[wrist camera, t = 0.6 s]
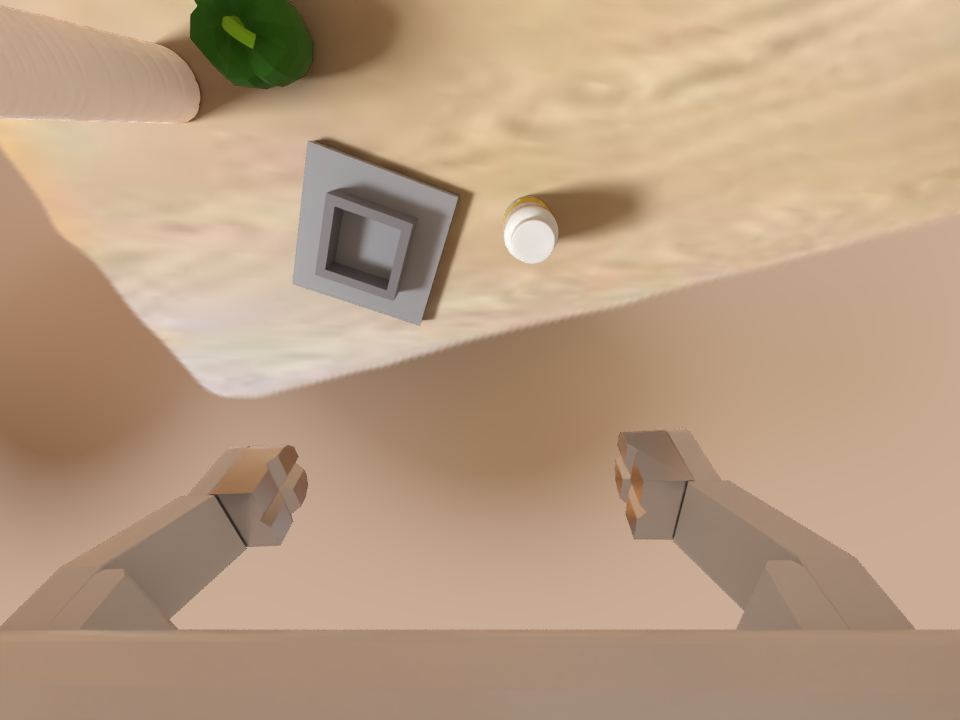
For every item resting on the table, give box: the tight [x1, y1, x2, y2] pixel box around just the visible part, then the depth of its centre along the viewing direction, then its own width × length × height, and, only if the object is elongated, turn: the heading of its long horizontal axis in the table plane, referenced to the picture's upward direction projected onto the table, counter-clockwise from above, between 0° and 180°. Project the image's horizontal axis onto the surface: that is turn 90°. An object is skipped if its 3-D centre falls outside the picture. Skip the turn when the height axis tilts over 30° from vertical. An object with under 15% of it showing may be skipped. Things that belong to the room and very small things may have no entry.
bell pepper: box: [190, 0, 313, 89], centre depth 33 cm, size 8×8×10 cm
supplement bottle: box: [503, 196, 558, 264], centre depth 40 cm, size 5×5×10 cm
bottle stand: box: [292, 141, 459, 326], centre depth 44 cm, size 16×16×4 cm
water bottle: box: [0, 5, 200, 124], centre depth 29 cm, size 9×6×25 cm
